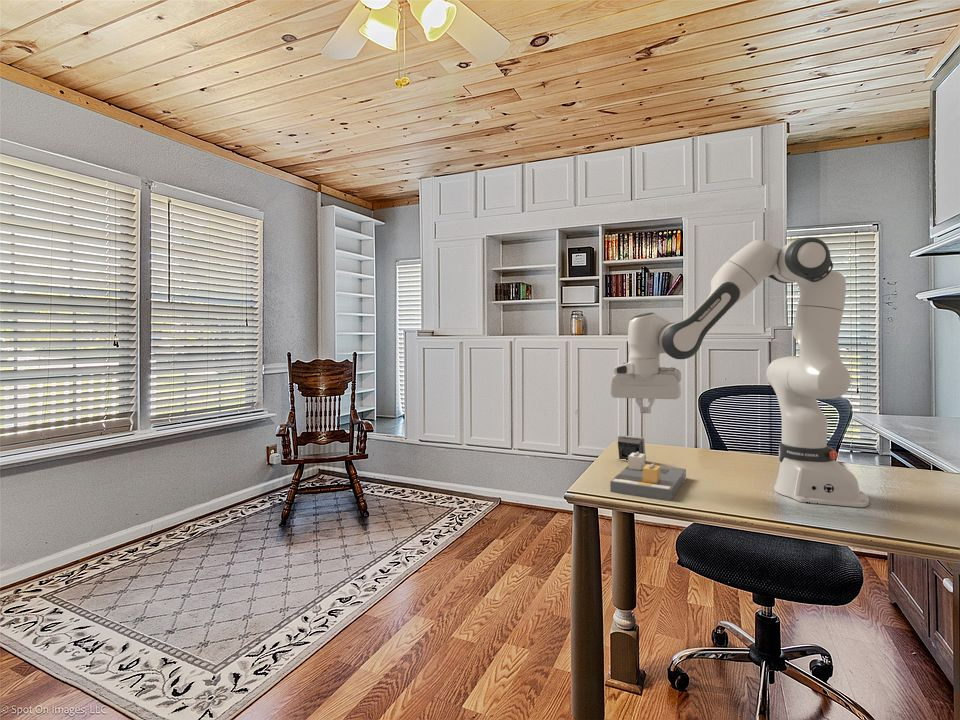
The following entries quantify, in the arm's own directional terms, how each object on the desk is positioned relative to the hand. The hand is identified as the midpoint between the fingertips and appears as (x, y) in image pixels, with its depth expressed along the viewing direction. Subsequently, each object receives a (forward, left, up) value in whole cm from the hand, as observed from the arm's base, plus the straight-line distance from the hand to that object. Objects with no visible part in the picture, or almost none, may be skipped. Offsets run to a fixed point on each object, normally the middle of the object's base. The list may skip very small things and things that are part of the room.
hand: (645, 413), depth 158 cm
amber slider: (-3, +5, -19) cm, 20 cm away
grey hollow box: (+11, -26, -23) cm, 36 cm away
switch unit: (-1, -1, -22) cm, 22 cm away
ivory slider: (+4, -7, -19) cm, 21 cm away
